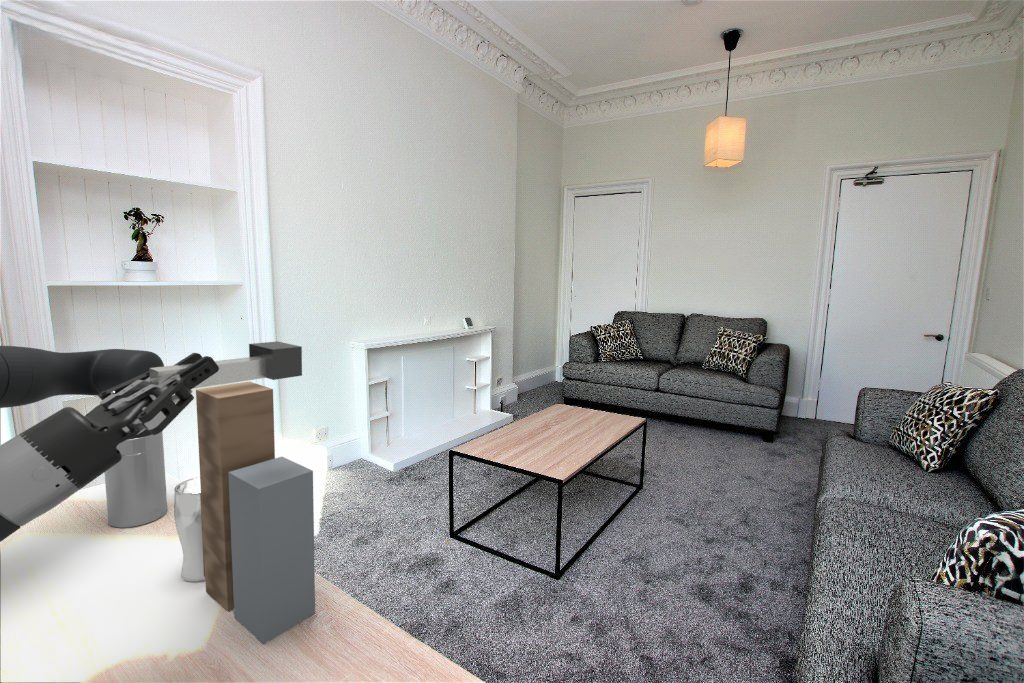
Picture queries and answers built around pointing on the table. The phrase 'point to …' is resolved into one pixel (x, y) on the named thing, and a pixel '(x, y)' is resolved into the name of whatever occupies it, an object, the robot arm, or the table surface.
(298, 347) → the blocky hammer
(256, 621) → the grey tall block
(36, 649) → the table surface
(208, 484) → the tall wooden post
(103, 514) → the table surface
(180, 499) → the beer glass
